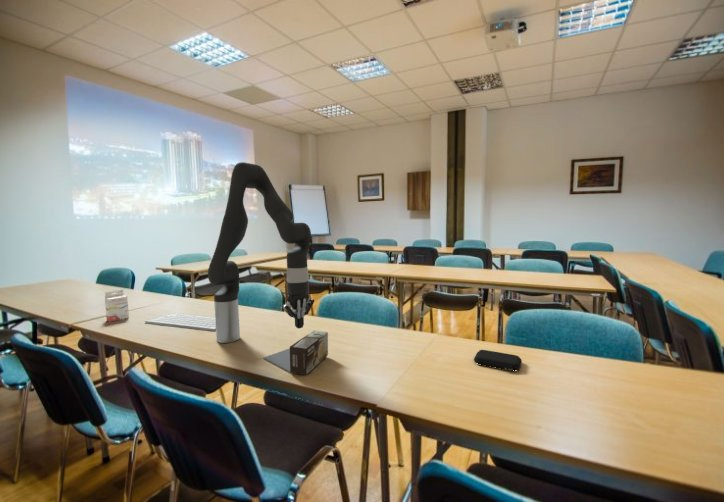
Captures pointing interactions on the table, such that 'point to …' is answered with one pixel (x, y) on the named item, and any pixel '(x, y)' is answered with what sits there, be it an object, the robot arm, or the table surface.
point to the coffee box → (308, 352)
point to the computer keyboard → (186, 321)
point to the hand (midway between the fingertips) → (299, 327)
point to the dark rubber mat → (281, 360)
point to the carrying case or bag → (498, 360)
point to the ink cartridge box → (116, 306)
